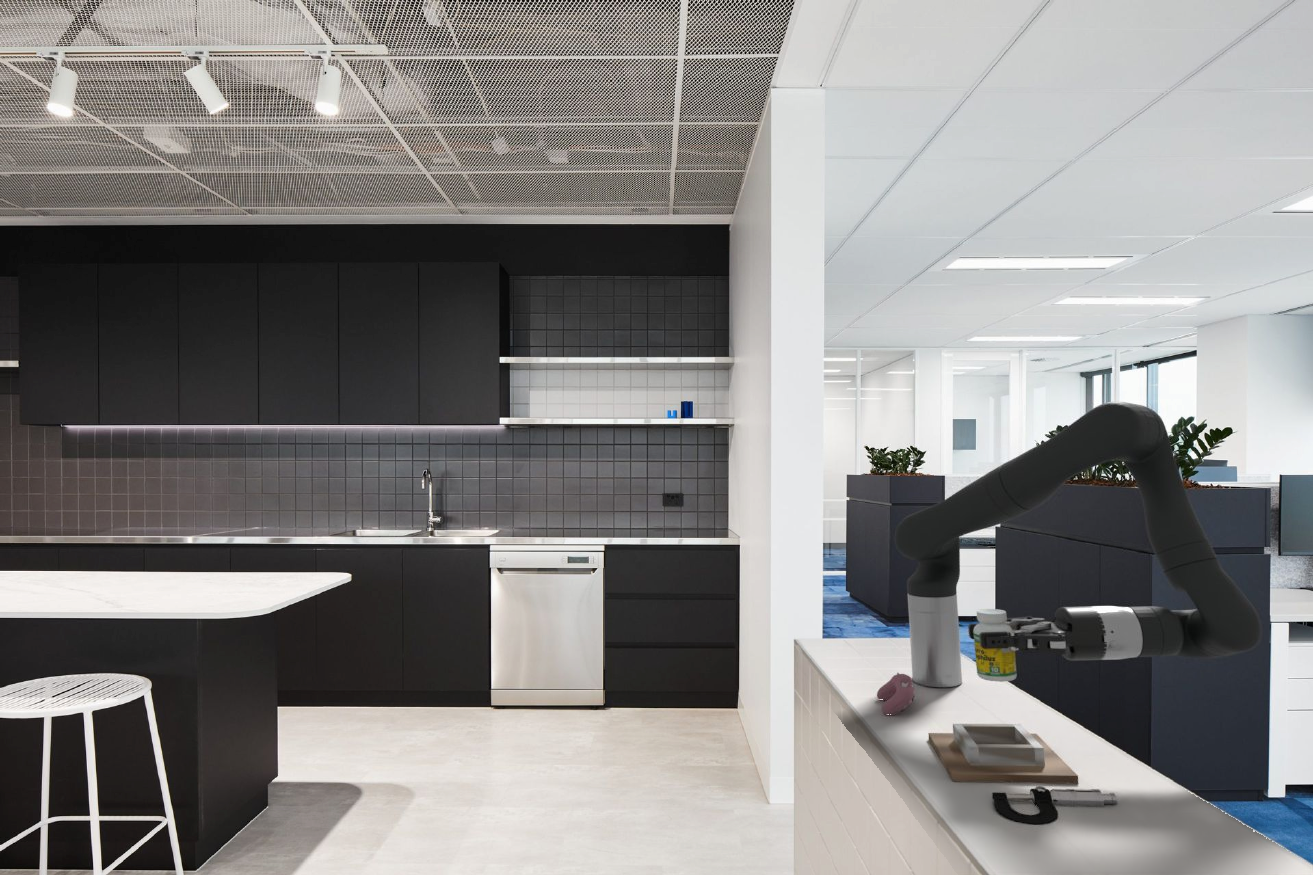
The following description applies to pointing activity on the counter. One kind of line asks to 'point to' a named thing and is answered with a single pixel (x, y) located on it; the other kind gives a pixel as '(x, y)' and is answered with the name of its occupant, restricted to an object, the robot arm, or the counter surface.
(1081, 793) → the micrometer
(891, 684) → the video game controller
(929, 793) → the counter surface
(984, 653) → the supplement bottle
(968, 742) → the socket board
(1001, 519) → the robot arm
